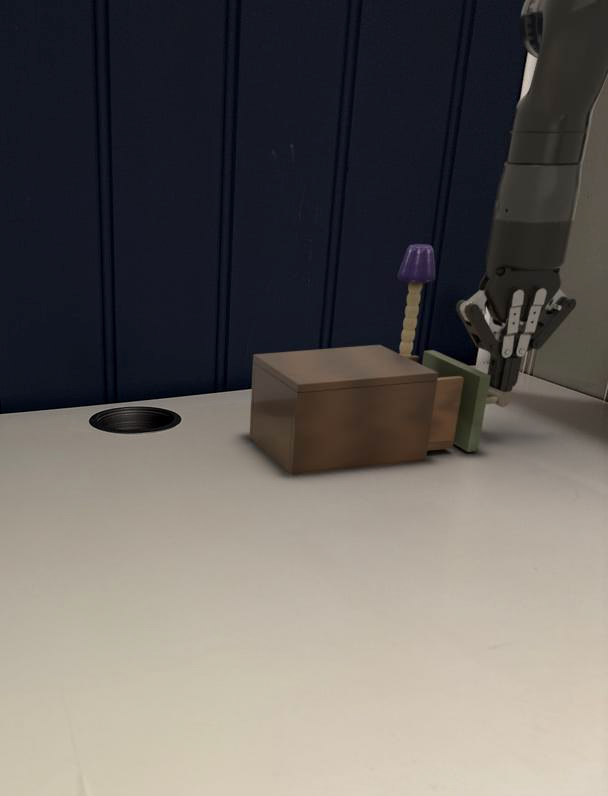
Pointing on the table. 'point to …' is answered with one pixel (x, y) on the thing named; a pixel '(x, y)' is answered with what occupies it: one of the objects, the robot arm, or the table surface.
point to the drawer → (458, 402)
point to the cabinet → (341, 408)
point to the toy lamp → (414, 288)
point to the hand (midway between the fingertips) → (500, 390)
